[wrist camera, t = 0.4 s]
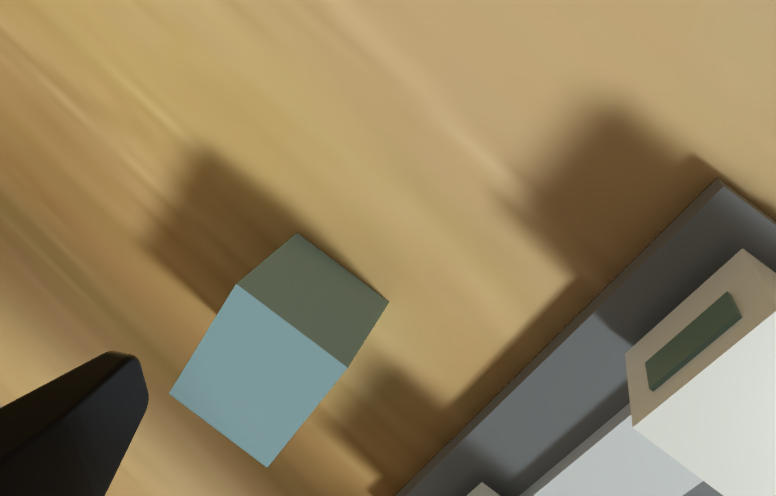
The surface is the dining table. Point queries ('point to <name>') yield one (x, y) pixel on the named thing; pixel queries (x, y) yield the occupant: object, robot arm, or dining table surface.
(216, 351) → the block
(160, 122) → the dining table surface
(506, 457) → the din board
